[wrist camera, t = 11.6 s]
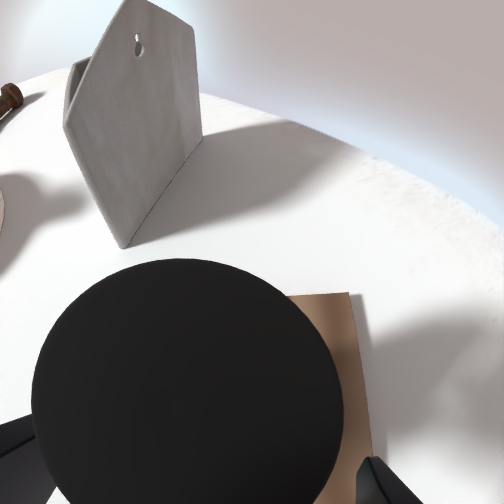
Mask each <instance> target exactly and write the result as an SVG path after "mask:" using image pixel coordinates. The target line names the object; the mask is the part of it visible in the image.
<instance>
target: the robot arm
mask: <svg viewBox="0 0 504 504" xmlns="http://www.w3.org/2000/svg"><path fill="white" fill-rule="evenodd" d="M56 486H57V485H56V484H55V482H54V480H53V479H52V477H51V475H50V474H49V472H48V470H47V467H46V465H45V463H44V461H43V458H42V456H41V453H40V450H39V447H38V444H37V441H36V437H35V432H34V427H33V421H32V414H30V415H27V416H24V417H21V418H18V419H16V420H13V421H10V422H7V423H4V424H1V425H0V504H46V503H47V501H48V500H49V498H50V496H51V495H52V493H53V491H54V490H55V488H56ZM355 504H423V503H422V502H421V501H420V500H419V499H418V497H417V496H416V495H415V494H414V493H413V492H412V491H411V490H410V489H409V488H408V487H407V486H406V485H405V484H404V483H403V482H402V481H401V480H400V479H399V478H398V477H397V475H396V474H395V473H394V472H393V471H392V470H391V469H390V468H389V467H388V466H387V465H386V464H385V463H384V462H383V460H382V459H381V458H380V457H378V456H367V457H365V459H364V460H363V462H362V464H361V466H360V467H359V469H358V471H357V473H356V496H355Z"/></svg>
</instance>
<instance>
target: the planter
mask: <svg viewBox="0 0 504 504" xmlns="http://www.w3.org/2000/svg"><path fill="white" fill-rule="evenodd" d="M136 34H137V35H138V41H137V42H136V39H135V35H136ZM63 130H64V132H65V135H66V137H67V140H68V142H69V145H70V147H71V150H72V152H73V154H74V157H75V159H76V161H77V163H78V166H79V168H80V170H81V172H82V174H83V177H84V179H85V181H86V183H87V185H88V187H89V189H90V191H91V193H92V195H93V197H94V200H95V202H96V204H97V206H98V208H99V210H100V212H101V214H102V216H103V218H104V219H105V221H106V223H107V225H108V227H109V229H110V231H111V233H112V235H113V237H114V239H115V240H116V242H117V244H118V246H119V248H121V249H125V248H126V247H127V246H128V244H129V242H130V241H131V239H132V237H133V236H134V234H135V233H136V231H137V230H138V228H139V227H140V225H141V224H142V222H143V221H144V219H145V218H146V216H147V215H148V213H149V212H150V210H151V209H152V207H153V206H154V205H155V203H156V202H157V200H158V199H159V197H160V196H161V194H162V193H163V192H164V190H165V189H166V187H167V186H168V185H169V183H170V182H171V180H172V179H173V178H174V176H175V175H176V173H177V172H178V171H179V169H180V168H181V167H182V165H183V164H184V163H185V161H186V160H187V158H188V157H189V156H190V154H191V153H192V152H193V151H194V149H195V148H196V147H197V145H198V144H199V143H200V142H201V140H202V139H203V135H202V123H201V112H200V100H199V87H198V74H197V61H196V47H195V35H194V30H193V28H192V27H191V26H190V25H188V24H187V23H185V22H184V21H182V20H181V19H179V18H178V17H176V16H175V15H173V14H171V13H170V12H168V11H166V10H164V9H162V8H160V7H159V6H157V5H155V4H153V3H151V2H149V1H147V0H123V2H122V3H121V5H120V7H119V8H118V10H117V12H116V13H115V15H114V16H113V18H112V20H111V21H110V23H109V25H108V27H107V29H106V30H105V33H104V34H103V36H102V38H101V40H100V42H99V43H98V46H97V47H96V49H95V51H94V53H93V55H92V56H91V57H88V58H86V59H83V60H81V61H79V62H76V63H74V64H73V66H72V68H71V71H70V74H69V77H68V81H67V86H66V92H65V100H64V112H63Z"/></svg>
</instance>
